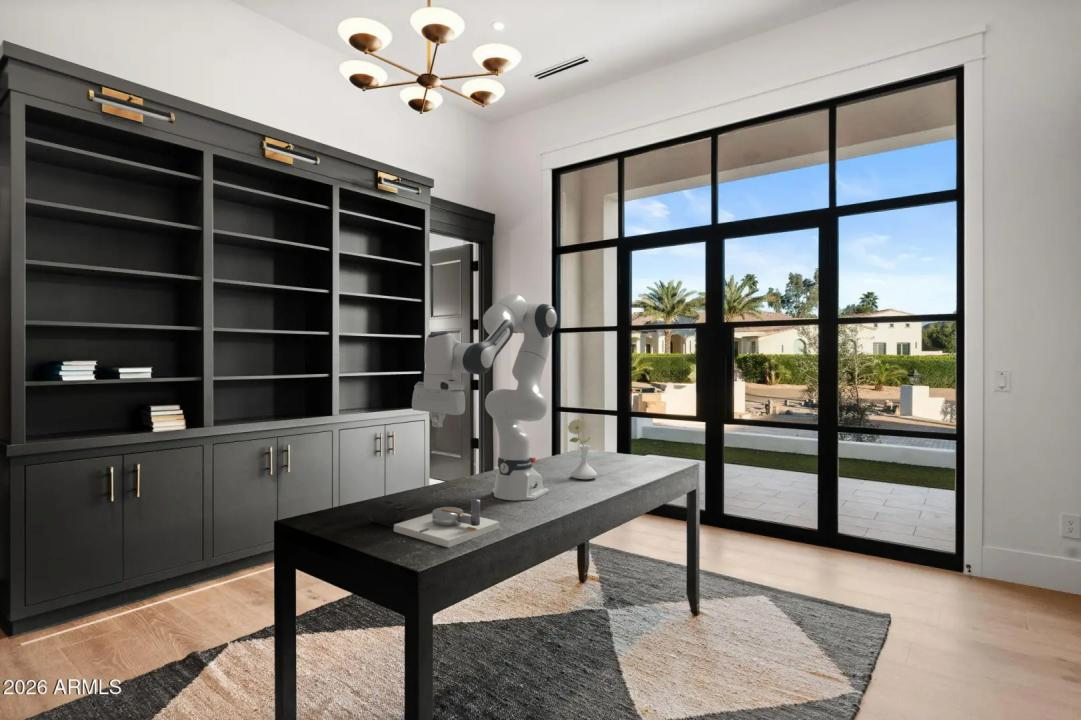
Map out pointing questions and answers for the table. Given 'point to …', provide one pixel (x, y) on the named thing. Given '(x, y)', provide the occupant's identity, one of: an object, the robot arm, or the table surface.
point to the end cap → (385, 513)
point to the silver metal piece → (457, 515)
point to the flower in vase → (583, 468)
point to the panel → (444, 530)
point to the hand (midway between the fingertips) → (437, 426)
